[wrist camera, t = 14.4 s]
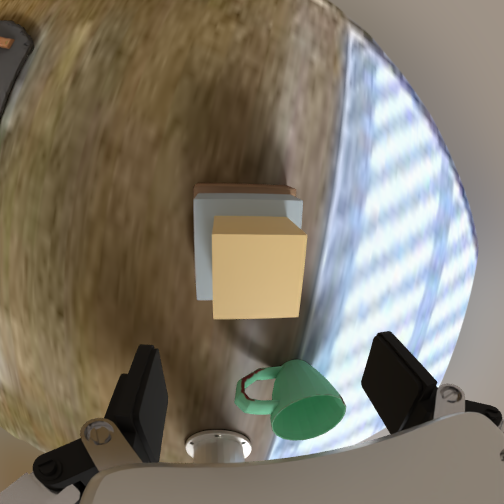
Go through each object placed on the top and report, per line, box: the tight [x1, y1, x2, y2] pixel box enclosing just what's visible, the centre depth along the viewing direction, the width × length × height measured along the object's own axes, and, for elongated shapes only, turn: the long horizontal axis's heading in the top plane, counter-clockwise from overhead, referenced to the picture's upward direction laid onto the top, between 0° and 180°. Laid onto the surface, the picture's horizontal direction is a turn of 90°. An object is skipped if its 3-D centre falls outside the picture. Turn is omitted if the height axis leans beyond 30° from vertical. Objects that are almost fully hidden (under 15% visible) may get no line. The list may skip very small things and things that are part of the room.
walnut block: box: [193, 183, 296, 283], centre depth 31 cm, size 10×10×4 cm
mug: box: [234, 359, 346, 440], centre depth 35 cm, size 15×10×10 cm
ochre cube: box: [212, 216, 307, 319], centre depth 21 cm, size 6×6×6 cm
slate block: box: [194, 193, 303, 300], centre depth 26 cm, size 9×9×4 cm
